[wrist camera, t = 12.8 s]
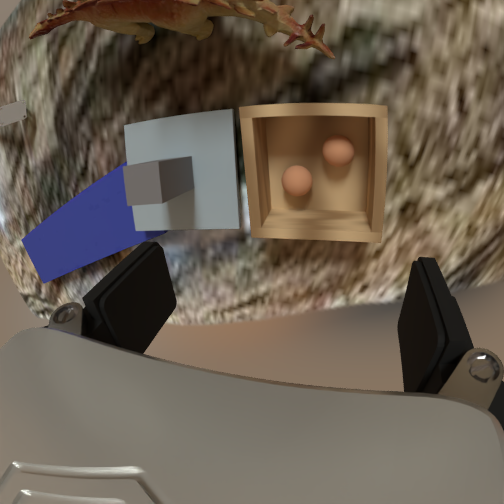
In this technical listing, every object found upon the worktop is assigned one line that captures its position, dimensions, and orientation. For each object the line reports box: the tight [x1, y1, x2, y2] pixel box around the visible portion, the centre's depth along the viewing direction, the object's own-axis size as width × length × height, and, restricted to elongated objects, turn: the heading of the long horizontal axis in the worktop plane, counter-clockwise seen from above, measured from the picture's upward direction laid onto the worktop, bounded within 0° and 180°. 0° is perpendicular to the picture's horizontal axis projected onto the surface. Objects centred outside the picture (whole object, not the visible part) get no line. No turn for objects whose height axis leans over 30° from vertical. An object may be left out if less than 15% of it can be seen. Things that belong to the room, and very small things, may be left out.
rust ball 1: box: [281, 165, 313, 196], centre depth 28 cm, size 3×3×3 cm
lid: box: [123, 109, 241, 231], centre depth 27 cm, size 12×12×9 cm
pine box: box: [239, 103, 388, 243], centre depth 27 cm, size 12×12×6 cm
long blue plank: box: [22, 162, 169, 283], centre depth 41 cm, size 35×3×10 cm
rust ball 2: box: [322, 135, 354, 167], centre depth 26 cm, size 3×3×3 cm
